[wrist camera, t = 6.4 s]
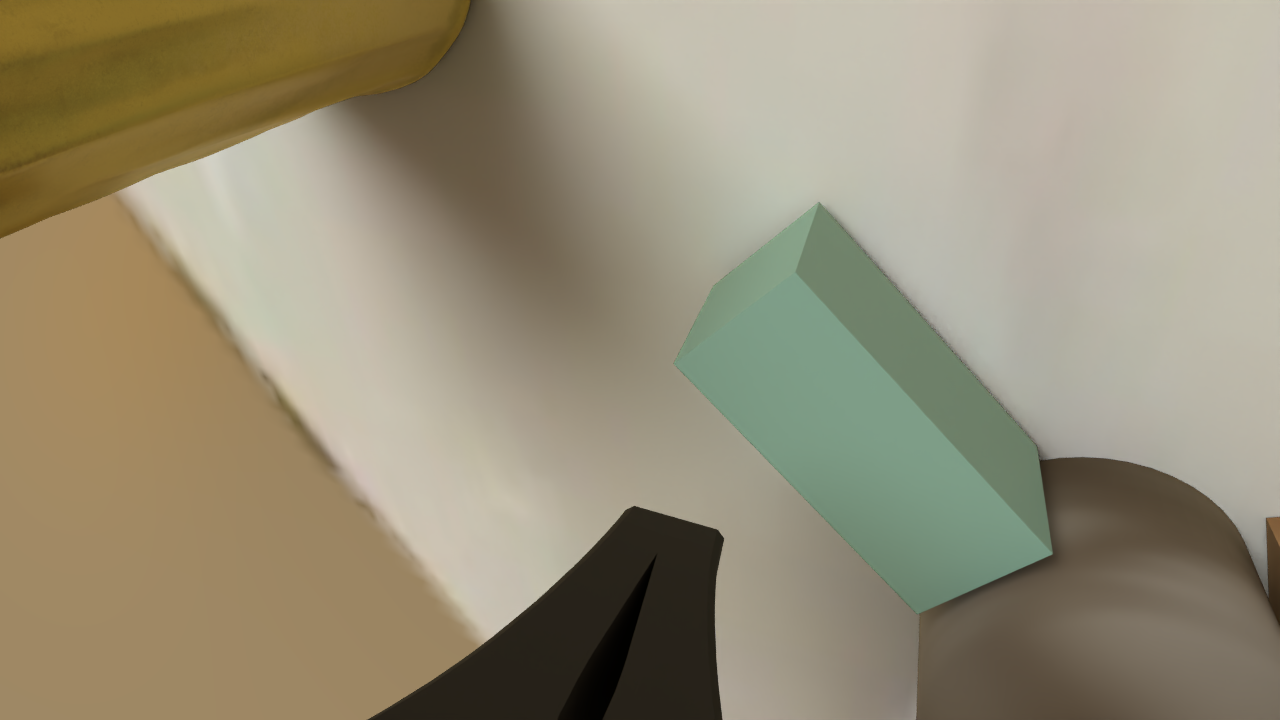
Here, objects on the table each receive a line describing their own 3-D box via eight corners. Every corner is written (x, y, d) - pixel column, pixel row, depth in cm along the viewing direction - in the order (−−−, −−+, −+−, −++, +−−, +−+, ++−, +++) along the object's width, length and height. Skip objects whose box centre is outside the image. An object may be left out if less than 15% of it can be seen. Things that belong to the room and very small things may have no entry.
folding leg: (1037, 446, 19) (1052, 553, 17) (921, 506, 21) (917, 614, 18) (819, 201, 18) (795, 272, 15) (713, 286, 20) (673, 363, 17)
